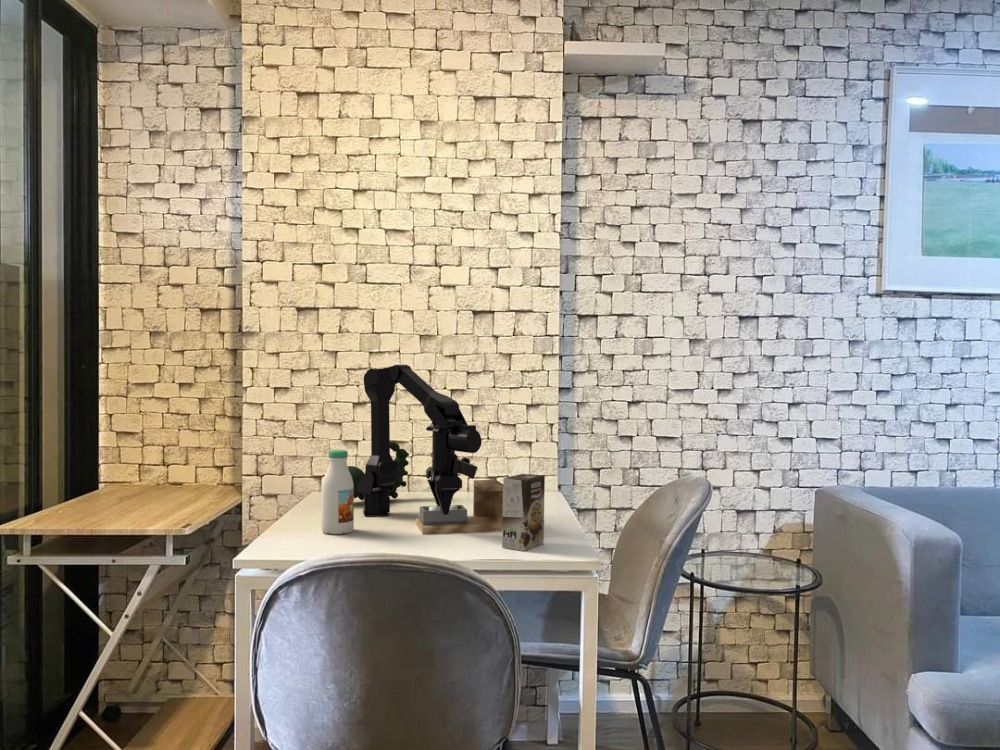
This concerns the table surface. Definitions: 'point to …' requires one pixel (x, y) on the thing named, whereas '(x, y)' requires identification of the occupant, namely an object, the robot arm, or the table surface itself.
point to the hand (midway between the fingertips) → (443, 511)
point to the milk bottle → (337, 495)
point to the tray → (436, 516)
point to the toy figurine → (401, 459)
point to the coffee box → (523, 511)
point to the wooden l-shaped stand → (476, 511)
